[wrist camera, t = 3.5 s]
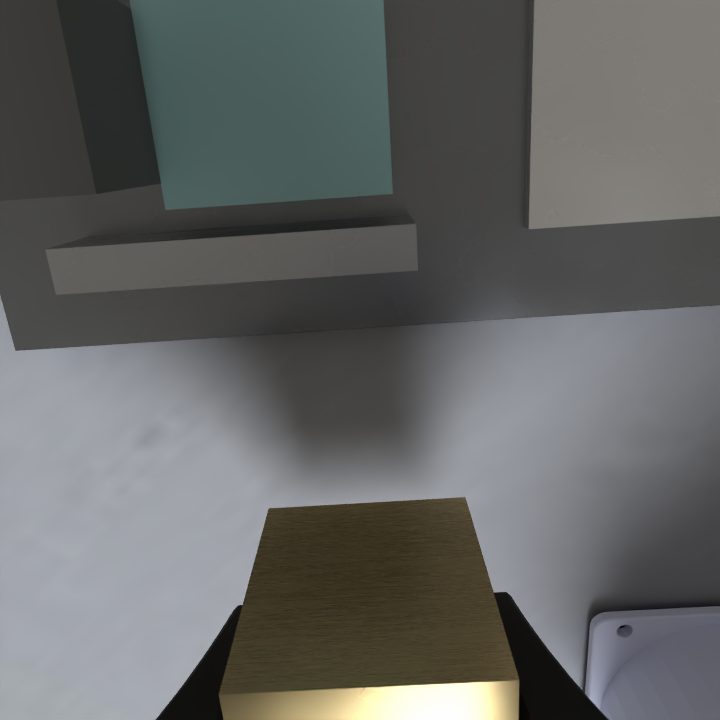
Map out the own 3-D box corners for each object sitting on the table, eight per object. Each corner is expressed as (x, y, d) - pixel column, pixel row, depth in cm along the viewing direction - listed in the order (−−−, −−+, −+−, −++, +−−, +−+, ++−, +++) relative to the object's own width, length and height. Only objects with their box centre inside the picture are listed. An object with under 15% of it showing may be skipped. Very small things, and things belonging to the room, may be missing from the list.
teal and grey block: (378, -15, 12) (388, -118, 8) (388, 187, 14) (402, 207, 9) (85, 9, 12) (-84, -77, 8) (124, 206, 14) (-1, 236, 9)
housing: (465, 497, 14) (519, 680, 9) (467, 652, 15) (515, 880, 10) (268, 508, 14) (218, 694, 9) (289, 661, 15) (256, 891, 10)
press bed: (834, -216, 13) (981, -330, 10) (757, 290, 16) (846, 321, 13) (-82, -136, 13) (-214, -221, 10) (39, 337, 17) (-32, 377, 14)
